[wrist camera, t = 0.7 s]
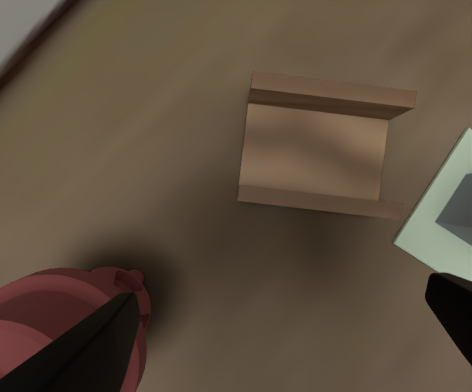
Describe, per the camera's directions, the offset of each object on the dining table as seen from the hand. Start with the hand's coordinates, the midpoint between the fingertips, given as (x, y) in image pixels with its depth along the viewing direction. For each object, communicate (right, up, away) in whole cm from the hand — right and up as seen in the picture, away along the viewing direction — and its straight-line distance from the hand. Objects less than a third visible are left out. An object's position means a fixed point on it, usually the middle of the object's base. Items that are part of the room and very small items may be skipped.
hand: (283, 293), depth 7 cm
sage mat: (+19, +1, +14) cm, 24 cm away
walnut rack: (+5, +7, +14) cm, 16 cm away
